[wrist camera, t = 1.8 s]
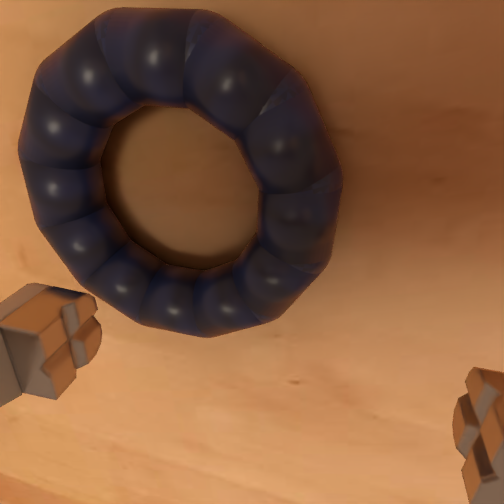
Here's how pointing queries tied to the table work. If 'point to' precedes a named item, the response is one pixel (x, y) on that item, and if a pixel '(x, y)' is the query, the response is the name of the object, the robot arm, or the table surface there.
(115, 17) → the ring
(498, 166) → the table surface
